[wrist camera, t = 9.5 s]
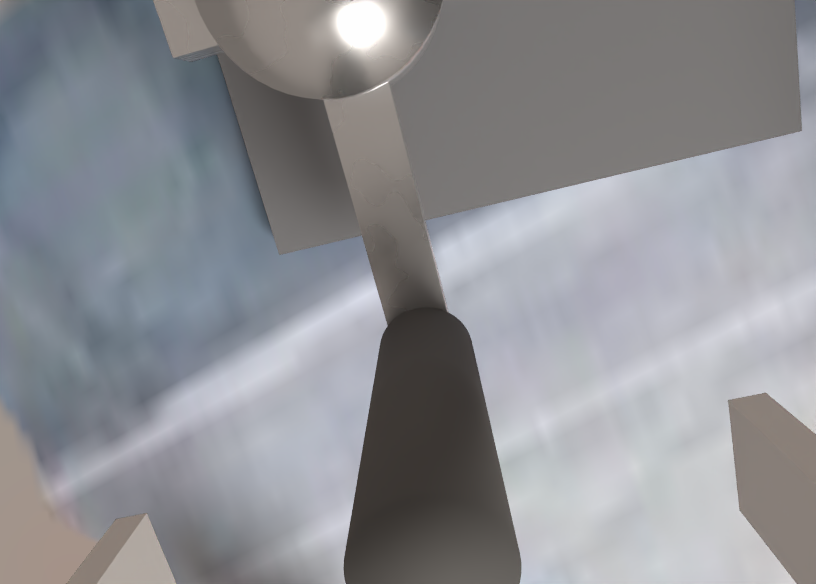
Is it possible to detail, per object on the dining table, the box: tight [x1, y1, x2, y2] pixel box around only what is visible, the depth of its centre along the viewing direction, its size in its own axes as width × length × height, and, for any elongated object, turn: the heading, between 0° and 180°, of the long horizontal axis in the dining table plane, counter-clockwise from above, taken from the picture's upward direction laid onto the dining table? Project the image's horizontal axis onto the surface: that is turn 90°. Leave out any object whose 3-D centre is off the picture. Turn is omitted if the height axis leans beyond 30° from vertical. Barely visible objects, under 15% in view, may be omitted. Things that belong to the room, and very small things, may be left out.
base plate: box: [217, 0, 802, 255], centre depth 24 cm, size 24×13×6 cm, turn 104°
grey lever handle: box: [153, 0, 521, 584], centre depth 16 cm, size 18×11×14 cm, turn 15°
